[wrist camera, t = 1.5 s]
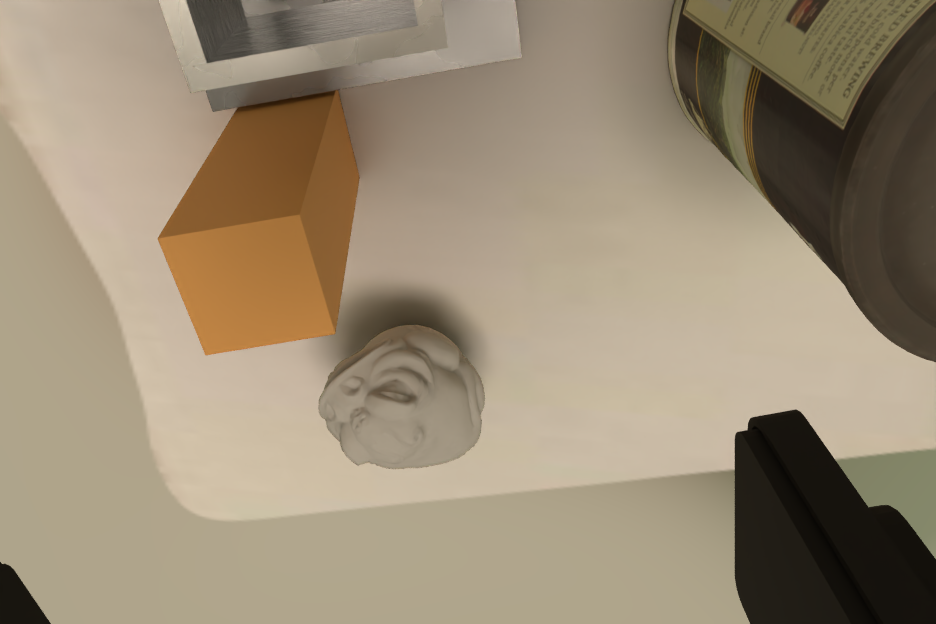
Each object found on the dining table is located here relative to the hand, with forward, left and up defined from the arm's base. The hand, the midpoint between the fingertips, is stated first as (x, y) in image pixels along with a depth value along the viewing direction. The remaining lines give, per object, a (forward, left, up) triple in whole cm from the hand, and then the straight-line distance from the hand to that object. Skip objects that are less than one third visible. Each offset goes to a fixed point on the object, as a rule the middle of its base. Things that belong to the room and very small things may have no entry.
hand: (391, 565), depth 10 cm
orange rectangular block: (+1, -4, -22) cm, 22 cm away
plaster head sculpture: (+11, -2, -22) cm, 25 cm away
